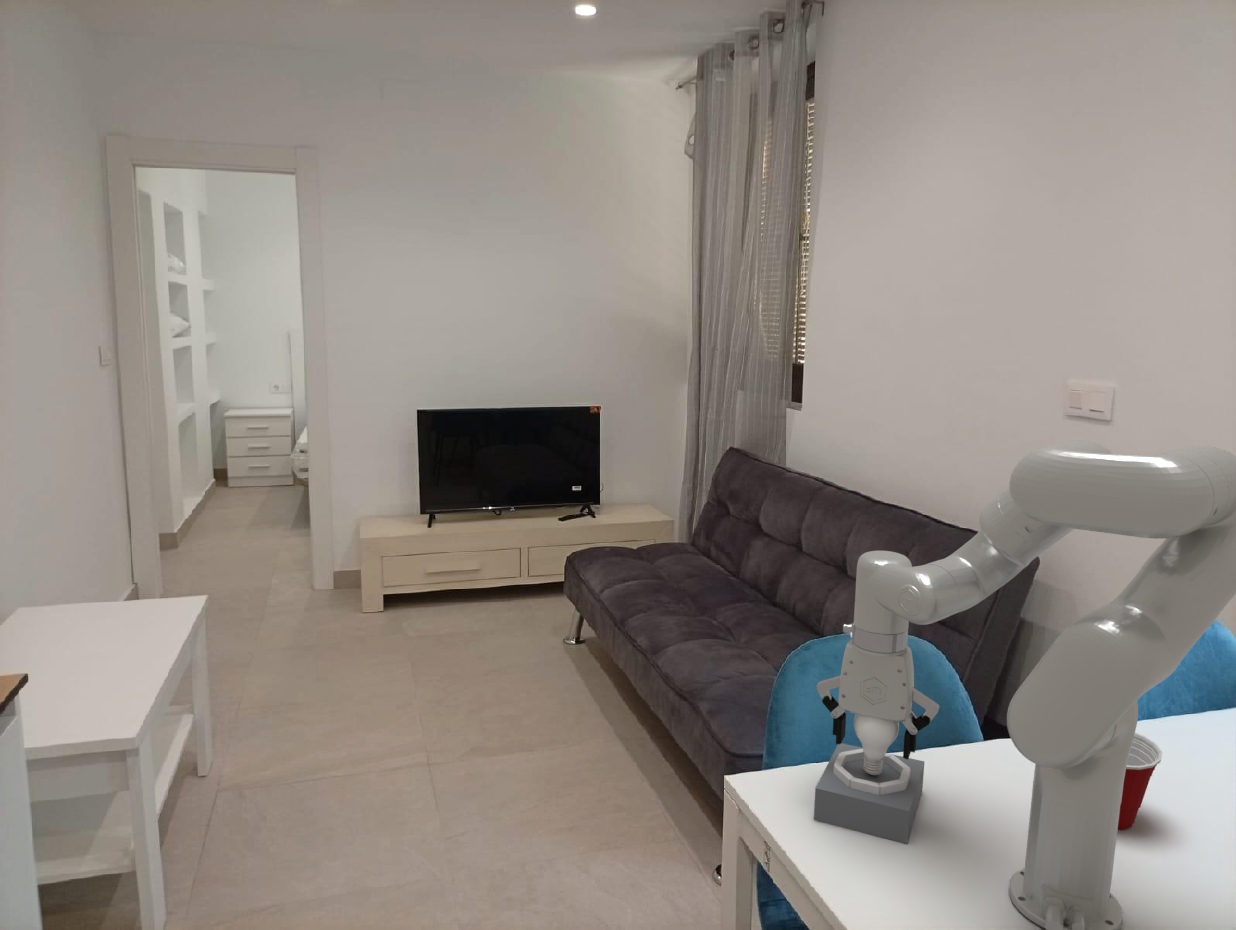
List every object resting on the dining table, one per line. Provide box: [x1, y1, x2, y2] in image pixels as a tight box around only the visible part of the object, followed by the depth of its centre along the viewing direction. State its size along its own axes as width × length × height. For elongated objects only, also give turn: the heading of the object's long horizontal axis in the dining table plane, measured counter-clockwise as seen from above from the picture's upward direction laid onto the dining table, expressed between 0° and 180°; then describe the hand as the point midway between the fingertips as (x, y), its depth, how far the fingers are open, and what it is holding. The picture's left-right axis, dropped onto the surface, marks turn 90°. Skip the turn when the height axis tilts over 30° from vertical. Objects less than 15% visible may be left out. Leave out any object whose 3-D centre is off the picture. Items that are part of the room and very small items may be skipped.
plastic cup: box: [1117, 732, 1163, 831], centre depth 128 cm, size 11×11×12 cm
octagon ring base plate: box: [813, 743, 925, 845], centre depth 133 cm, size 18×13×6 cm
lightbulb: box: [853, 714, 900, 776], centre depth 131 cm, size 6×6×11 cm
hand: (873, 747), depth 131 cm, fingers open, 9 cm apart
